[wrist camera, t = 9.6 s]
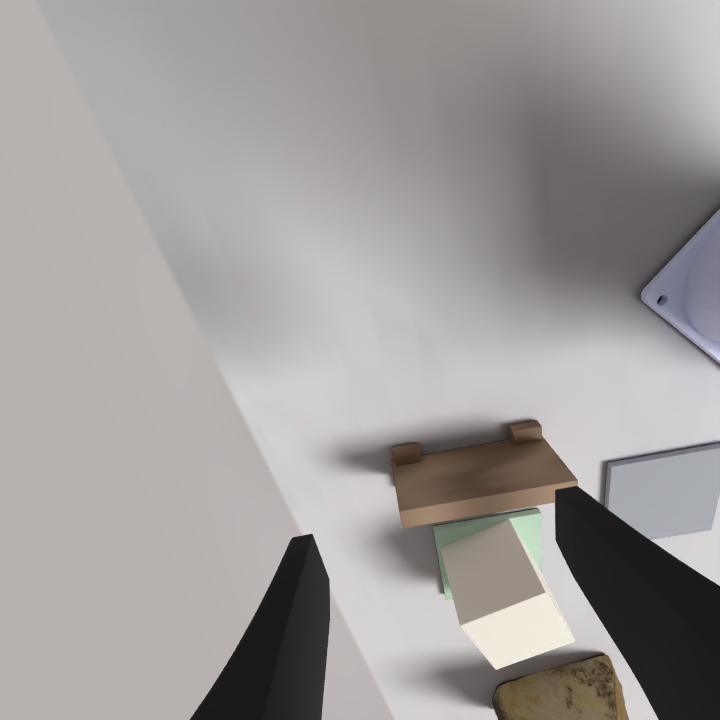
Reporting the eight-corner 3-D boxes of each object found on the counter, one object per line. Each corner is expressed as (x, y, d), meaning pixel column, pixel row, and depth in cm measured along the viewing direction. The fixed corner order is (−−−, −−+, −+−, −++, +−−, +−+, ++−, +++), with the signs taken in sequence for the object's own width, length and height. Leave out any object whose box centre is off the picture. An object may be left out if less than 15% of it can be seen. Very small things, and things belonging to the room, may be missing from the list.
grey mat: (724, 442, 23) (730, 446, 23) (706, 525, 26) (711, 529, 25) (607, 462, 23) (611, 466, 23) (601, 542, 26) (605, 547, 26)
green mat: (538, 508, 25) (541, 513, 24) (539, 579, 28) (542, 584, 27) (432, 526, 25) (433, 531, 25) (444, 594, 28) (445, 599, 28)
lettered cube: (509, 518, 24) (545, 592, 20) (537, 564, 26) (576, 642, 22) (440, 548, 25) (460, 625, 21) (471, 591, 27) (496, 670, 23)
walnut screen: (540, 419, 22) (578, 464, 18) (540, 463, 23) (576, 512, 20) (388, 447, 23) (396, 496, 19) (397, 488, 24) (405, 541, 20)
